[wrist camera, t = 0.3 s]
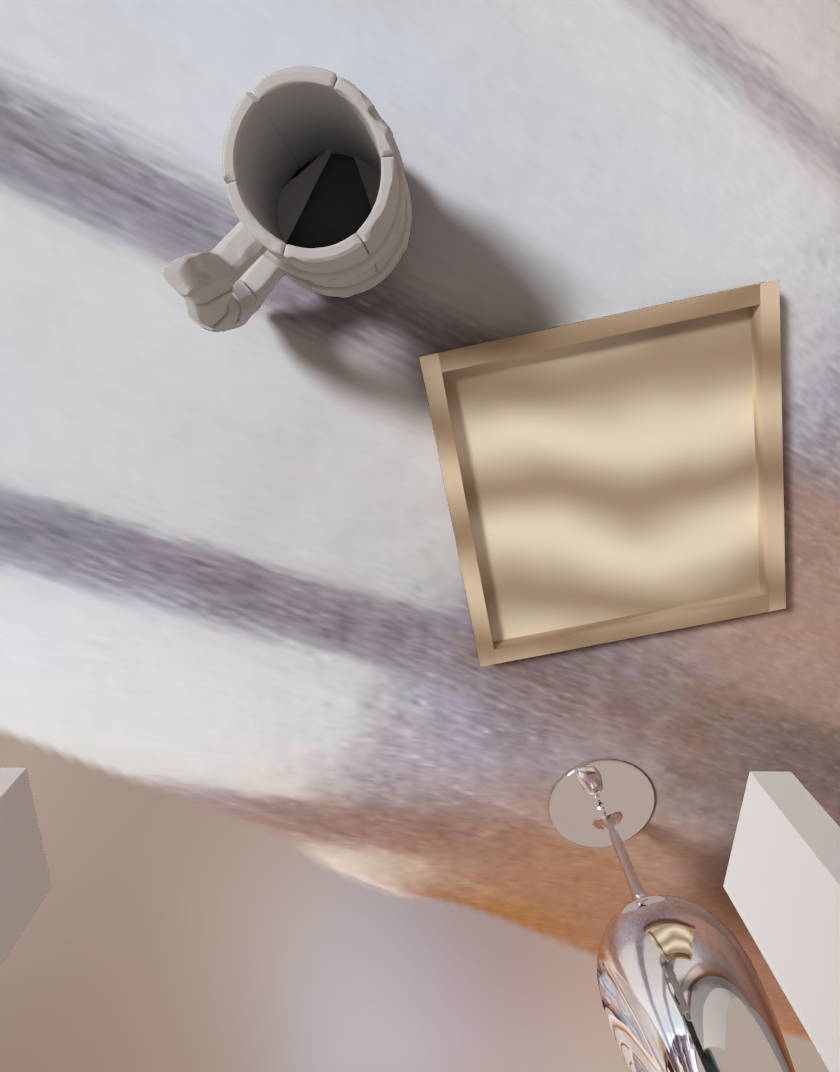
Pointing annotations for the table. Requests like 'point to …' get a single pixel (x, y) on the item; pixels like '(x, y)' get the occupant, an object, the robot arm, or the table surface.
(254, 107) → the mug
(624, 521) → the square serving tray
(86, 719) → the table surface
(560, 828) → the wineglass
